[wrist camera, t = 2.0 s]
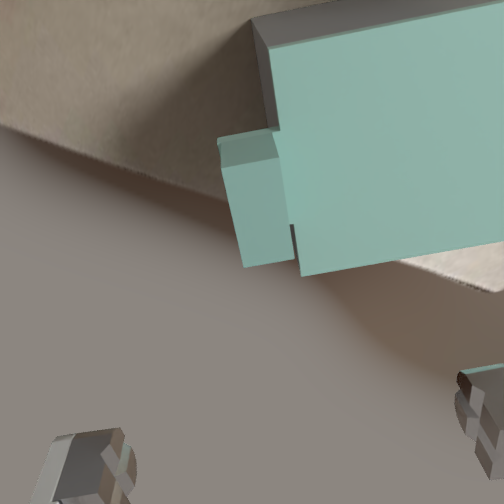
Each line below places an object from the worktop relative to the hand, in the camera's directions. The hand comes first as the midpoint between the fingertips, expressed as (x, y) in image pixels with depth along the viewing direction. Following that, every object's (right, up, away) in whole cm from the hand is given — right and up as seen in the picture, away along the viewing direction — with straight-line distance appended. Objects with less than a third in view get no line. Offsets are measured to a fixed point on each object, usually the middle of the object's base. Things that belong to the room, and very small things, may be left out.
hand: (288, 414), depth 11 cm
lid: (+6, +9, +11) cm, 16 cm away
